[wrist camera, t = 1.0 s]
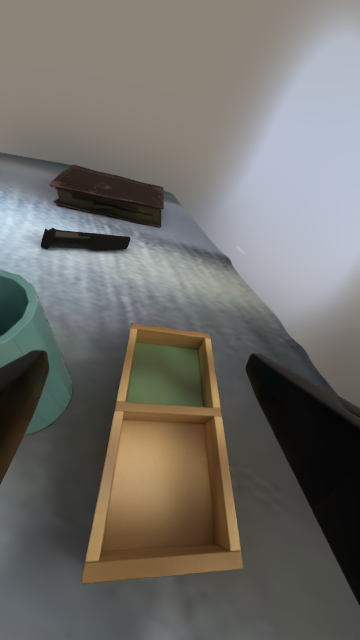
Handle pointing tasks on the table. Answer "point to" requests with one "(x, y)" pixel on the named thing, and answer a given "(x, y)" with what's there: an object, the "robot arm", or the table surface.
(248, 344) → the table surface
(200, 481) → the divided wooden tray
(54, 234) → the electric trimmer
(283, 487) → the table surface
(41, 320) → the tumbler
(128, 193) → the diary
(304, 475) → the robot arm
